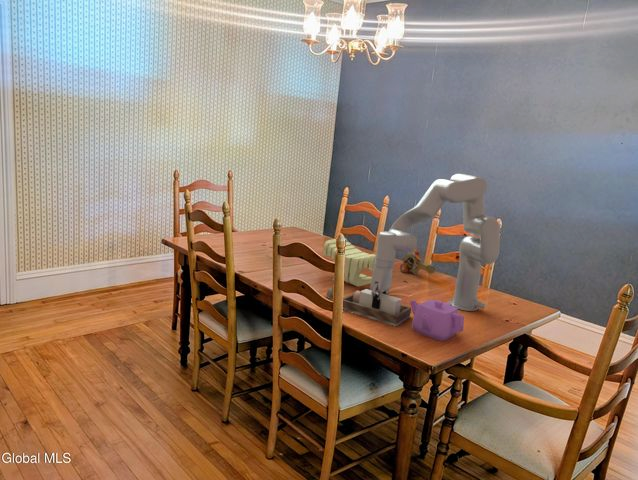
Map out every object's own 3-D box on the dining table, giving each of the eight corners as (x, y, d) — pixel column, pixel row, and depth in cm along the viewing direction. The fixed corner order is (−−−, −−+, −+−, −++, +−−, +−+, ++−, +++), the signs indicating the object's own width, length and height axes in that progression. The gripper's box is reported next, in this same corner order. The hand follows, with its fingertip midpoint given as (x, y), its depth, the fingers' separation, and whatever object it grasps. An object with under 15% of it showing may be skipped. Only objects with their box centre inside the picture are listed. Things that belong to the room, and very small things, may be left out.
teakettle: (463, 343, 174) (469, 311, 171) (418, 340, 172) (423, 308, 170) (448, 324, 190) (452, 295, 188) (406, 322, 189) (410, 292, 186)
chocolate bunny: (329, 301, 203) (332, 279, 201) (324, 295, 210) (326, 273, 208) (342, 301, 205) (344, 279, 202) (336, 295, 212) (339, 273, 210)
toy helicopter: (407, 269, 266) (411, 245, 263) (437, 280, 250) (441, 254, 247) (397, 270, 261) (400, 246, 258) (427, 282, 245) (431, 256, 242)
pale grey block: (399, 315, 192) (401, 299, 190) (393, 318, 188) (396, 302, 186) (358, 302, 202) (359, 287, 200) (352, 305, 198) (353, 289, 196)
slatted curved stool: (320, 275, 238) (324, 240, 235) (341, 270, 250) (344, 237, 246) (368, 292, 219) (373, 255, 215) (388, 286, 231) (393, 251, 227)
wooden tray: (409, 316, 194) (411, 307, 193) (395, 326, 183) (396, 316, 182) (356, 300, 207) (357, 291, 206) (339, 308, 196) (340, 299, 195)
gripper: (385, 257, 199) (380, 298, 203) (365, 264, 184) (360, 309, 188) (402, 261, 195) (396, 303, 199) (383, 269, 180) (377, 314, 184)
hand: (379, 305), depth 193 cm, fingers open, 5 cm apart
